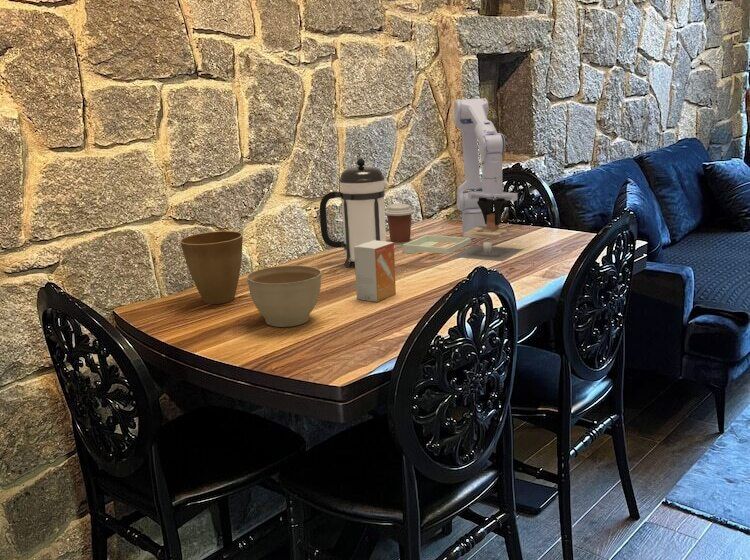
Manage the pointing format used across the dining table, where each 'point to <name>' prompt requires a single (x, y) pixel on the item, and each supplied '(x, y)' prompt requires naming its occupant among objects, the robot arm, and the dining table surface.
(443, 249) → the sage tray
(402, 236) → the coffee cup
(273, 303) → the planter bowl
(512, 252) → the stake board
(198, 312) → the dining table surface
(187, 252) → the plant pot
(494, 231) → the tan square frame
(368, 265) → the small box
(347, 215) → the coffee press
